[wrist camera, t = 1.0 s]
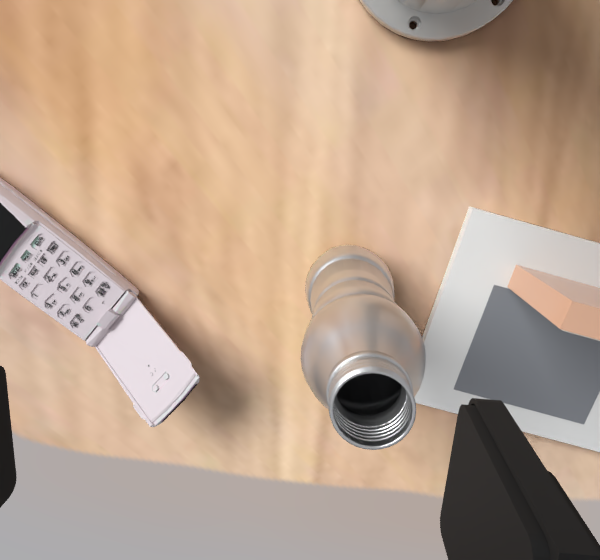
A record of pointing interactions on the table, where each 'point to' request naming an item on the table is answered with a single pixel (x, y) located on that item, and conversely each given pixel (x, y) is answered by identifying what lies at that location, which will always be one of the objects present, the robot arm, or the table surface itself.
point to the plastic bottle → (361, 348)
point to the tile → (560, 300)
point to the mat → (513, 332)
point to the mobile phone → (92, 305)
